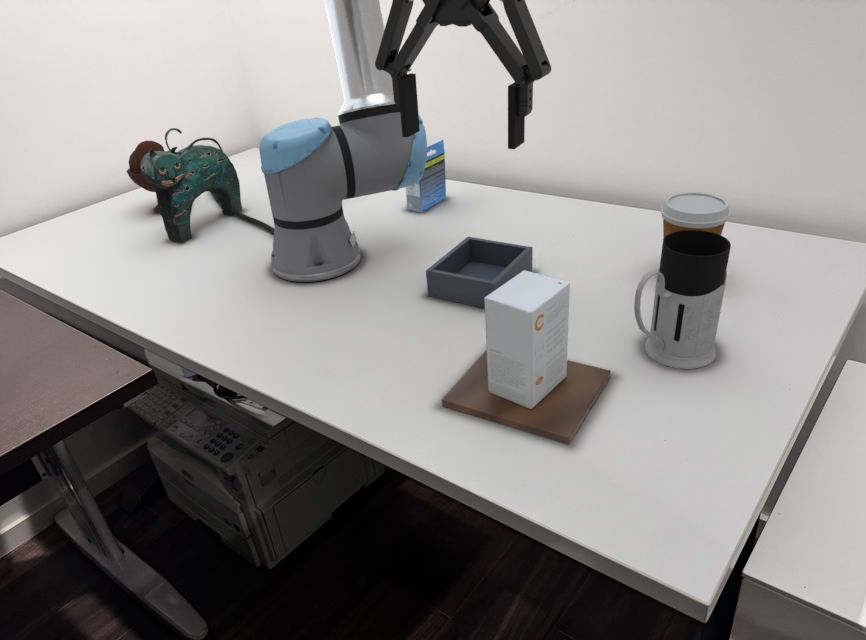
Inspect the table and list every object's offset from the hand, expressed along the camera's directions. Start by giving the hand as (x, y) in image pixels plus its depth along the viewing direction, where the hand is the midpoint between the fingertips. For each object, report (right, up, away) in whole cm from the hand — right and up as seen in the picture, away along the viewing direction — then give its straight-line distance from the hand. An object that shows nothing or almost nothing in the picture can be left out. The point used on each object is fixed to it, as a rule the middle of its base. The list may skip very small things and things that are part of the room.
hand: (461, 139), depth 77 cm
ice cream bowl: (-61, +6, +69) cm, 92 cm away
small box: (+8, -28, +4) cm, 30 cm away
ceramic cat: (-50, +1, +59) cm, 77 cm away
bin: (+4, -14, +29) cm, 33 cm away
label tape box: (-5, +6, +60) cm, 61 cm away
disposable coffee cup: (+35, -13, +26) cm, 46 cm away
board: (+8, -29, +5) cm, 31 cm away
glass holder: (+26, -25, +9) cm, 38 cm away
